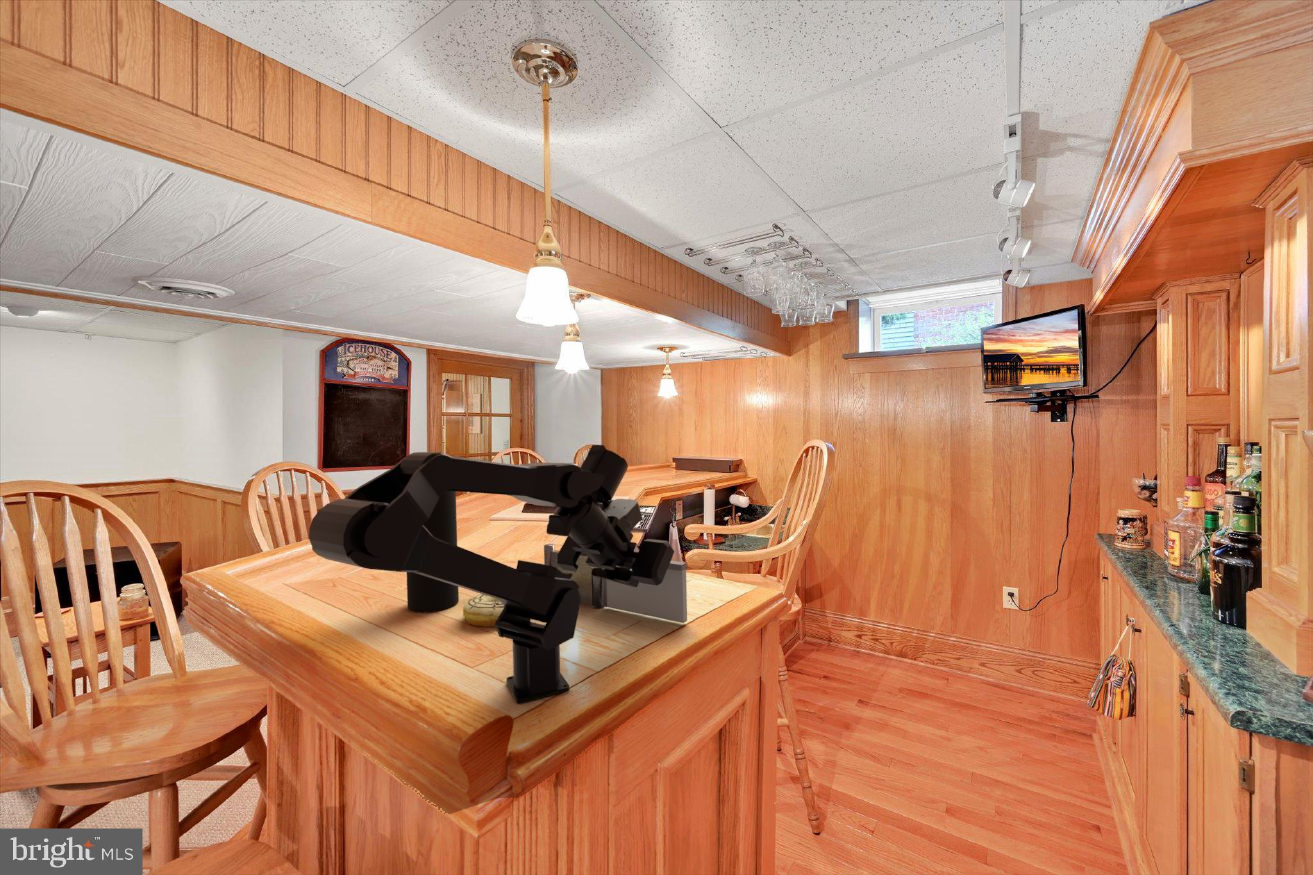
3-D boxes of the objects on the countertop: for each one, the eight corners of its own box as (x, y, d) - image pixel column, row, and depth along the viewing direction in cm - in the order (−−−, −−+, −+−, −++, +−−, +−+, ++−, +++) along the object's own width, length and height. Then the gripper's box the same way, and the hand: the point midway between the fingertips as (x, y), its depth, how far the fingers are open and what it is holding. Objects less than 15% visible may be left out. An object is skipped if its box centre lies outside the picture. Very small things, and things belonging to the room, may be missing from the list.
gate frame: (542, 597, 100) (541, 545, 100) (550, 594, 102) (549, 543, 102) (599, 609, 93) (598, 553, 93) (606, 605, 95) (605, 551, 94)
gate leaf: (601, 606, 93) (600, 553, 93) (607, 603, 94) (606, 551, 94) (682, 623, 84) (681, 564, 84) (687, 620, 85) (686, 562, 85)
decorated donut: (526, 627, 86) (525, 604, 86) (458, 633, 84) (457, 609, 84) (529, 606, 96) (529, 585, 96) (469, 610, 94) (468, 590, 94)
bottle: (447, 612, 93) (442, 456, 92) (398, 613, 93) (393, 457, 93) (465, 596, 102) (462, 453, 101) (421, 597, 102) (417, 454, 101)
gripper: (665, 486, 74) (703, 547, 83) (567, 481, 84) (610, 536, 93) (635, 553, 67) (680, 612, 77) (532, 539, 77) (583, 592, 87)
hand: (636, 584), depth 83 cm, fingers closed
